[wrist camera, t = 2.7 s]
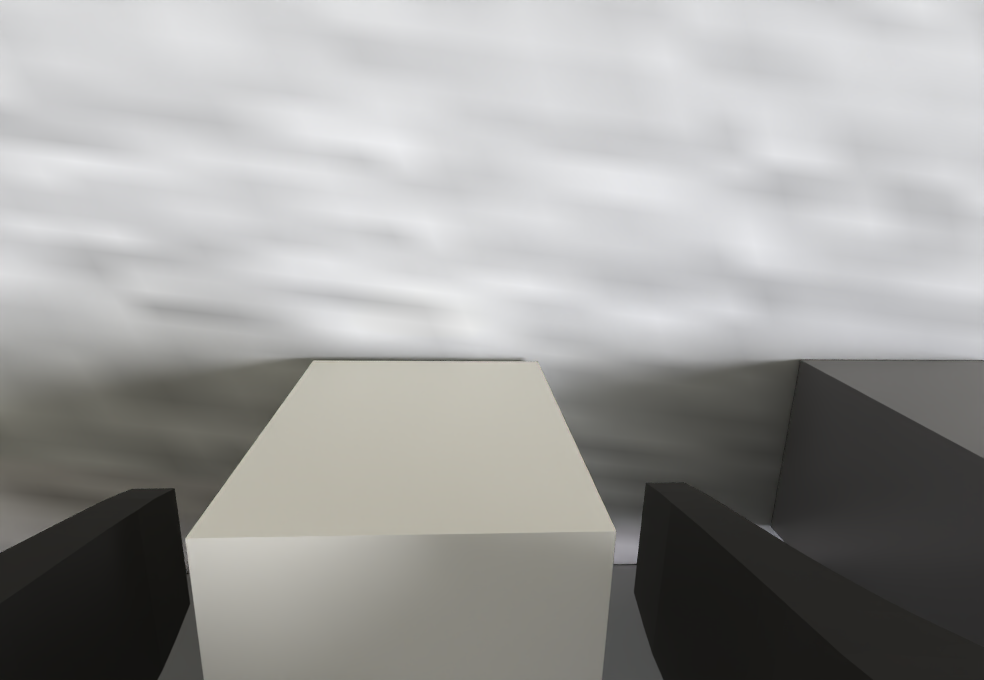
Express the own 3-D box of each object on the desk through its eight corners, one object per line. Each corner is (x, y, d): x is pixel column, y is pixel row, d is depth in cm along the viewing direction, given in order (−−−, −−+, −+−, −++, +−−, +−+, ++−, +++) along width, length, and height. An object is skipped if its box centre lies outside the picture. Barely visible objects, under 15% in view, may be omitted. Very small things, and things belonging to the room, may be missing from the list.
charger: (523, 637, 14) (574, 958, 8) (329, 643, 13) (243, 982, 8) (537, 361, 12) (615, 531, 6) (312, 360, 11) (185, 538, 6)
